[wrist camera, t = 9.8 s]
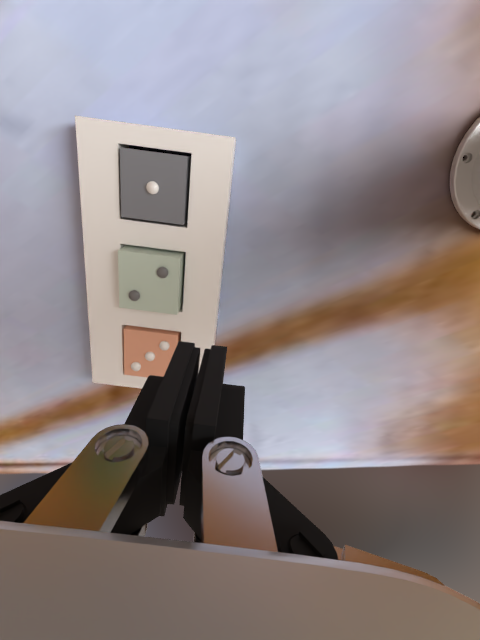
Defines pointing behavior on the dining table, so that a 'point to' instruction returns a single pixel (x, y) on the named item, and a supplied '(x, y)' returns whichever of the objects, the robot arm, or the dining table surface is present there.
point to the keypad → (150, 237)
